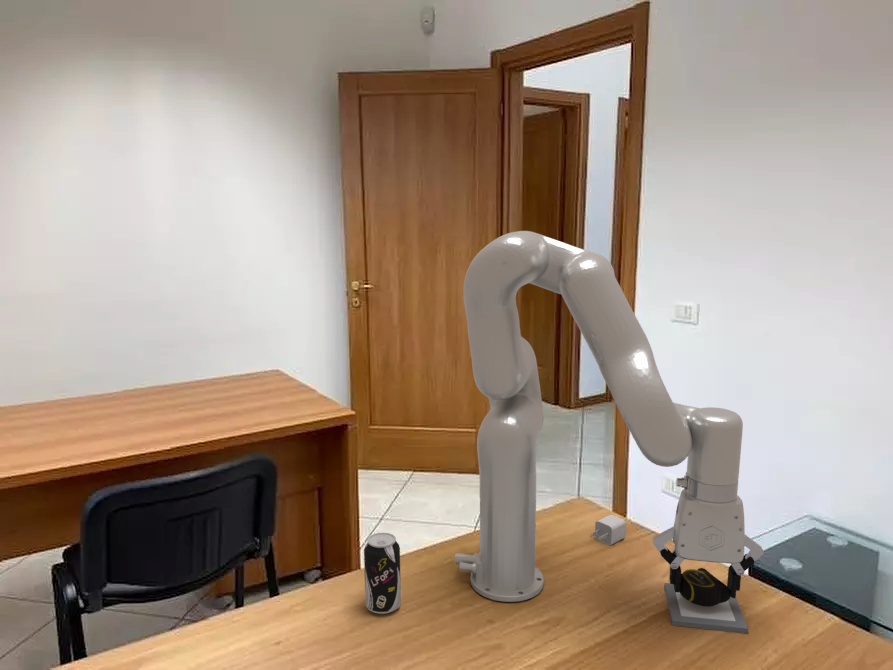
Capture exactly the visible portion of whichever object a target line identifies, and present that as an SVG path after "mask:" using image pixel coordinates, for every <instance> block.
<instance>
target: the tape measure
mask: <svg viewBox="0 0 893 670" xmlns="http://www.w3.org/2000/svg"><path fill="white" fill-rule="evenodd" d="M680 594H681V595H682V597H684V598H685V599H686V600H688V601H689V602H691V603H693V604H696V605H700V606H707V607H711V606H714V605H717V604H719V603H724V602H726V601H728V600H729V599H730V595H731V591H730V589H729V588H728V587H727V584H725V583H724V582H723V581H721V580H720V579H719V578H717V577H716V576H714V575H713V574H712V573H710V572H709V570H708V569H706V568H705V567H701V568H700V567H699V568H697V569H695V568H694V569H692V568H691V569H686V570H684V571H683V572H681V585H680Z"/></svg>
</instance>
